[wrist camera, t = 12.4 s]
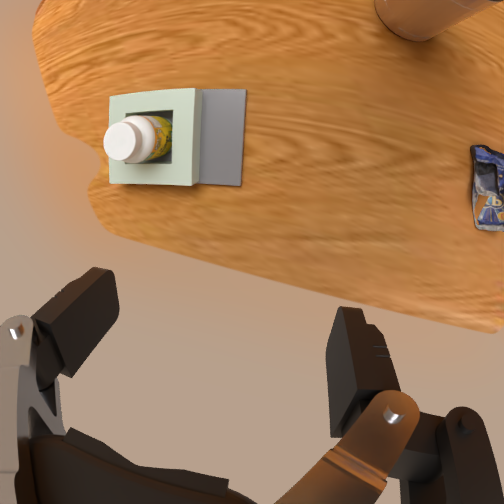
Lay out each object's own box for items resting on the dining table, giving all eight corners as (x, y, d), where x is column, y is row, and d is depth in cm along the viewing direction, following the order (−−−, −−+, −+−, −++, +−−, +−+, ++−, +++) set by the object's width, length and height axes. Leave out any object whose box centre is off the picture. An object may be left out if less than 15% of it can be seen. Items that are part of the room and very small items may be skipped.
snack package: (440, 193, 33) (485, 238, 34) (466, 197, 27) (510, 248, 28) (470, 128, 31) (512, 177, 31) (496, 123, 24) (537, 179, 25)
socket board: (123, 96, 33) (108, 94, 30) (246, 90, 31) (241, 85, 28) (122, 180, 38) (108, 185, 34) (241, 184, 36) (235, 190, 33)
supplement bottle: (156, 108, 33) (116, 104, 24) (185, 132, 34) (152, 134, 25) (133, 141, 35) (90, 147, 26) (161, 165, 36) (123, 177, 27)
